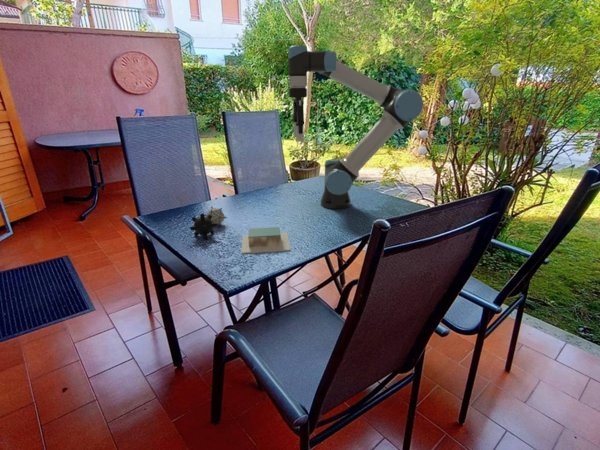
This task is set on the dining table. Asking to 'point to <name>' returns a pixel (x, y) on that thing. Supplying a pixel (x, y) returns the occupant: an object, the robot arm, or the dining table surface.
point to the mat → (283, 247)
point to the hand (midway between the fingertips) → (298, 139)
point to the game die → (216, 215)
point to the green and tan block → (264, 237)
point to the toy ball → (203, 225)
